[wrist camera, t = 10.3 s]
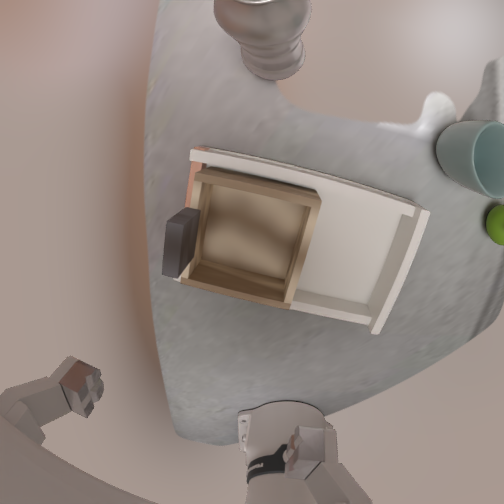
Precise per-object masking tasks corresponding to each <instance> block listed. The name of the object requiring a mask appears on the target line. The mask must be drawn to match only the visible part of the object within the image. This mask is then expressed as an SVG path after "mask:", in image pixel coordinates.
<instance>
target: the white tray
mask: <svg viewBox="0 0 504 504" xmlns="http://www.w3.org/2000/svg"><path fill="white" fill-rule="evenodd" d="M189 160H190V161H192V163H191V169H190V175H189V182H188V188H187V195H186V201H185V208H186V207H189V208H190V203H191V196H192V190H193V183H194V177H195V172H198V171H200V170H203V169H205V168H208V167H211V166H213V167H218V168H223V169H228V170H233V171H237V172H242V173H247V174H251V175H256V176H260V177H265V178H269V179H273V180H278V181H282V182H286V183H290V184H294V185H298V186H302V187H306V188H310V189H314V190H316V191H317V193H318V195H319V197H320V198H321V200H322V203H321V207H320V210H319V214H318V217H317V221H316V225H315V228H314V231H313V235H312V238H311V242H310V245H309V248H308V252H307V255H306V258H305V262H304V265H303V268H302V271H301V275H300V278H299V281H298V284H297V287H296V290H295V294H294V297H293V300H292V303H291V306H290V309H293V310H298V311H302V312H307V313H311V314H316V315H321V316H326V317H330V318H335V319H340V320H345V321H350V322H355V323H361V324H366V325H368V328H369V331H370V333H371V334H377V335H379V333H380V331H381V329H382V327H383V325H384V323H385V321H386V319H387V317H388V315H389V313H390V311H391V309H392V307H393V305H394V303H395V301H396V299H397V296H398V294H399V292H400V290H401V288H402V285H403V283H404V281H405V278H406V276H407V274H408V271H409V269H410V267H411V264H412V262H413V259H414V257H415V254H416V252H417V249H418V246H419V244H420V241H421V238H422V236H423V233H424V230H425V227H426V224H427V221H428V219H429V216H430V213H431V212H430V211H428V210H426V209H425V208H423V207H421V206H420V205H418V204H416V203H415V202H413V201H411V200H408V199H405V198H402V197H400V196H397V195H394V194H391V193H388V192H385V191H382V190H379V189H376V188H373V187H369V186H366V185H363V184H360V183H357V182H353V181H350V180H346V179H343V178H340V177H336V176H333V175H329V174H325V173H322V172H318V171H314V170H311V169H307V168H303V167H299V166H295V165H291V164H287V163H283V162H278V161H274V160H270V159H265V158H261V157H256V156H251V155H246V154H242V153H237V152H232V151H226V150H221V149H215V148H210V147H204V146H199V147H194V149H191V152H190V158H189ZM174 280H176V281H180V282H181V275H180V276H179V278H178V279H176V278H174Z"/></svg>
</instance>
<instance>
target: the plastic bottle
mask: <svg viewBox="0 0 504 504" xmlns="http://www.w3.org/2000/svg"><path fill="white" fill-rule="evenodd" d="M311 11H312V7H311V1H310V0H214V15H215V18H216V20H217V22H218V24H219V25H220V26H221V27H222V29H223V30H224V31H225V32H226V33H227V34H228V35H230V36H231V37H232V38H234V39H235V40H236V41H238V43H239V44H240V45H241V56H242V60H243V62H244V64H245V66H246V67H247V68H248V69H249V70H250V71H251V72H252V73H254V74H255V75H257V76H259V77H262V78H264V79H268V80H281V79H285V78H288V77H290V76H292V75H293V74H295V73H296V72H297V71H298V70H299V69H300V68H301V66H302V65H303V63H304V60H305V49H304V45H303V42H302V40H301V34H302V33H303V31H304V29H305V28H306V26H307V24H308V22H309V19H310V15H311Z"/></svg>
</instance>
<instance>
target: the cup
mask: <svg viewBox="0 0 504 504" xmlns="http://www.w3.org/2000/svg"><path fill="white" fill-rule="evenodd" d="M436 155H437V159H438V161H439V164H440V166H441V168H442V169H443V170H444V172H445V173H446V174H447V175H448V176H449V177H450V178H451V179H452V180H453V181H455V182H456V183H458V184H460V185H461V186H463V187H465V188H467V189H469V190H472V191H474V192H477V193H479V194H482V195H484V196H487V197H490V198H493V199H501V198H503V197H504V124H502V123H500V122H498V121H492V120H468V121H462V122H457V123H454V124H452V125H450V126H448V127H447V128H446V129H445V130H444V131H443V132H442V133H441V134H440V136H439V138H438V141H437V144H436Z"/></svg>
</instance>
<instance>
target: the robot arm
mask: <svg viewBox="0 0 504 504" xmlns="http://www.w3.org/2000/svg"><path fill="white" fill-rule="evenodd" d="M100 376H101V372H100V369H97V368H95V367H93V366H91V365H89V364H87V363H85V362H83V361H81V360H79V359H77V358H74V357H73V356H69V357H67V358H66V359H65V360H64V361H63V362H62V363H61V365H60V366H59V367H58V368H57V369H56V370H55V371H54V373H53V374H52V375H51V376H50V377H49V378H48V377H44V378H41V379H37V380H34V381H31V382H28V383H24V384H22V385H18V386H14V387H11V388H8V389H6V390H5V391H4V392H3V393H2V394H1V395H0V504H157V503H155V502H152V501H149V500H146V499H143V498H141V497H139V496H136V495H133V494H131V493H129V492H126V491H124V490H121V489H119V488H117V487H115V486H112V485H110V484H108V483H106V482H104V481H102V480H100V479H98V478H96V477H94V476H92V475H90V474H88V473H86V472H84V471H82V470H80V469H79V468H77V467H75V466H73V465H71V464H69V463H68V462H66V461H64V460H63V459H61V458H60V457H58V456H56V455H55V454H53V453H52V452H50V451H48V450H47V449H45V448H44V447H42V446H41V444H42V443H43V441H44V440H45V434H44V433H43V431H42V430H41V428H40V427H41V426H43V425H45V424H47V423H49V422H51V421H53V420H55V419H57V418H59V417H61V416H63V415H65V414H67V413H69V412H71V411H73V412H75V413H77V414H79V415H81V416H83V417H85V418H88V416H89V415H90V413H91V412H92V410H93V409H94V405H93V403H95V402H97V401H99V400H100V398H101V396H102V394H103V391H104V384H103V381H102V380H101V379H100ZM238 435H239V449H240V450H241V451H243V452H245V453H246V466H247V467H248V471H247V475H246V477H247V483H248V491H247V497H246V503H245V504H372V500H371V499H370V498H369V497H368V495H367V494H366V493H365V492H364V490H363V489H362V488H361V487H360V486H359V484H358V483H357V482H356V481H355V480H354V478H353V477H352V476H351V474H349V472H348V471H347V470H346V468H345V467H344V466H343V464H342V463H338V452H337V439H336V438H337V437H336V431H335V429H333V426H332V425H331V424H330V423H328V422H326V420H325V418H324V416H323V414H322V413H321V412H320V411H319V410H318V409H316V408H315V407H313V406H310V405H308V404H304V403H299V402H290V401H283V402H274V403H269V404H266V405H263V406H261V407H258V408H256V409H254V410H247V411H241V412H239V413H238Z"/></svg>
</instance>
